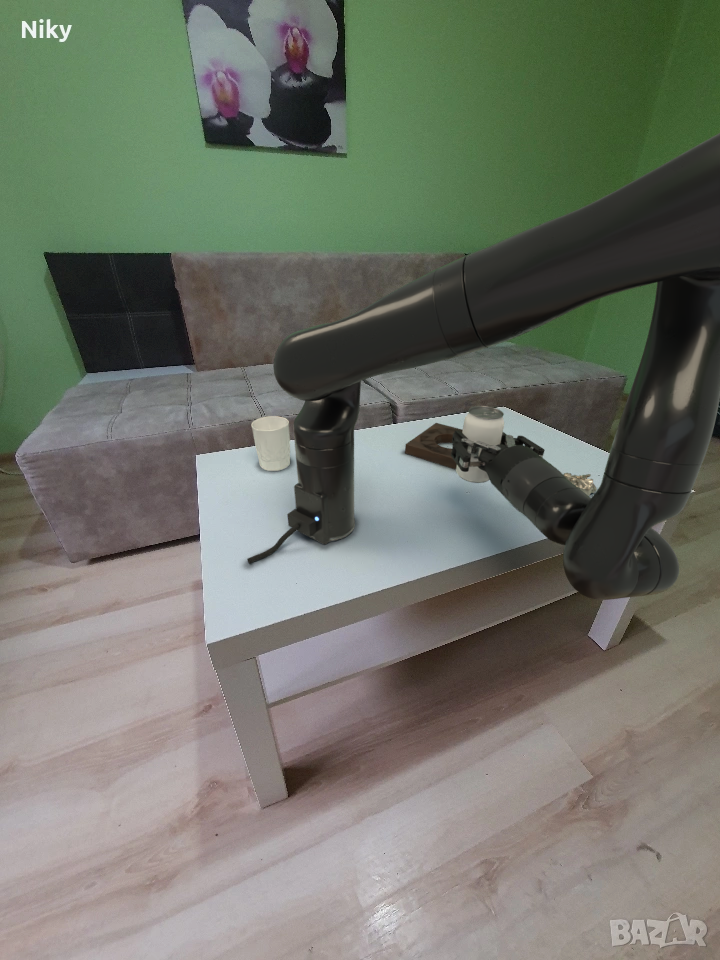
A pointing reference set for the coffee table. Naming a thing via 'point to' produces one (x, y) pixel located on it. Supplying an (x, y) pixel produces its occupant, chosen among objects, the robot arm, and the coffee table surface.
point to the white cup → (272, 442)
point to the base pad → (433, 445)
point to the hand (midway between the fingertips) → (474, 434)
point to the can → (481, 436)
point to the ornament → (582, 482)
